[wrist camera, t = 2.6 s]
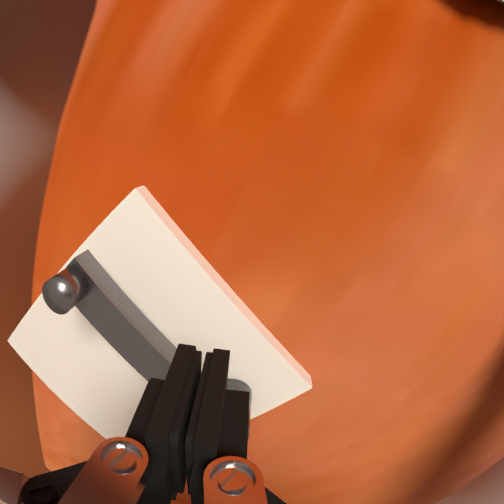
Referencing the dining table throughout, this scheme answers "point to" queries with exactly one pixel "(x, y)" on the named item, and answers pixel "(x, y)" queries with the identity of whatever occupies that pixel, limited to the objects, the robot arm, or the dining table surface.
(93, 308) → the bar
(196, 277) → the door board
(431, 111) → the dining table surface
